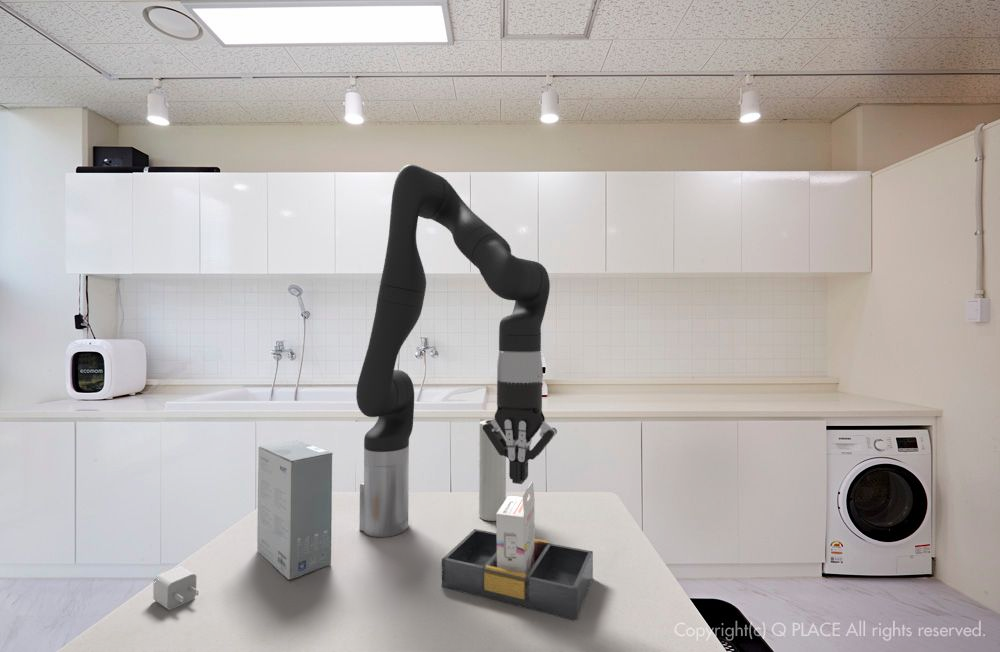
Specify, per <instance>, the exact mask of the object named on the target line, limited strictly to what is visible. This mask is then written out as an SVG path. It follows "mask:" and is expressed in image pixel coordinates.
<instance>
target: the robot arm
mask: <svg viewBox="0 0 1000 652" xmlns="http://www.w3.org/2000/svg"><path fill="white" fill-rule="evenodd" d="M394 181H395V182H394V185H393V190H392V195H391V202H390V203H391V204H390V217H389V218H390V219H389V226H388V227H389V230H388V238H387V246H386V250H385V252H386V253H385V258H384V264H383V268H382V274H381V280H380V282H379V289H378V295H377V299H376V300H377V301H376V306H375V307H376V308H375V312H374V319H373V323H372V327H371V332H370V338H369V342H368V346H367V350H366V353H365V357H364V361H363V364H362V367H361V369H360V370H361V371H360V373H359V377H358V382H357V385H356V392H355V393H356V394H355V395H356V404H357V406H358V409H359V411H360V412H361V413H362V414H363V415H364V416H365V417H368V418H377V420H376V423H375V424H374V426H372V427H371V429H369V430H368V431H367V432H366V433H365V435H364V437H363V438H364V439H363V482H361V483H360V484H359V530H361V531H363V532H364V534H366V535H367V536H370V537H373V538H386V537H393V536H397V535H399V534H402V533H404V532H405V531H407V530H408V528H409V501H410V500H409V491H410V490H409V489H410V488H409V484H410V482H409V477H410V476H409V475H410V474H409V473H410V472H409V471H410V470H409V469H410V465H409V464H410V463H409V461H410V460H409V459H410V457H409V456H410V437H411V436H412V435H411V434H412V432H413V428H414V417H415V415H414V411H415V387H414V384H413V381H412V378H411V377H410V375H409V374H408V373H406V372H405V371H403V370H401V369H395V366H396V363H397V359H398V355H399V353H400V351H401V348H402V346H403V345H404V343H405V342H406V340H407V339H408V337H409V335H410V333H411V332H412V331H413V329H414V327H416V324H417V322H418V320H419V318H420V317H421V314H422V310H423V305H424V300H425V296H426V290H427V289H426V288H427V278H426V273H425V269H424V265H423V262H422V260H421V256H420V252H419V248H418V243H417V230H418V220H419V217H420V218H423V219H426V220H431V221H434V222H436V223H438V224H440V225H442V227H444V228H445V229H447V230H448V231H449V232H450V233H451V235H452V238H453V242H454V244H455V246H456V248H457V249H458V250H459V251H460V253H462V255H463V256H464V257H465V258H466V259H467V260H468V261H469V262H470V263H472V265H473V266H475V267H476V268H477V269H478V270H479V272H480V275H481V277H482V278H483V280H484V282H485V284H487V286H488V288H489V289H490V290H491V291H492V292H493V294H495V295H497V296H498V297H499V298H501V299H503V300H507V301H515V303H514V306H513V311H512V313H511V314H510V315H507V316H504V317H502V318H501V320H500V322H499V326H498V357H497V364H496V366H497V367H496V368H497V369H496V370H497V371H496V375H497V377H496V380H497V381H496V407H497V409H496V412H495V413H494V418H493V419H491V420H492V421H491V422H489V423H487V424H485V425H483V430H484V432H485V433H486V435H487V436H488V438H489V439H490V441H491V442H492V444H493V445H494V447H495V449H496V450H497V452H498V453H499V455H501V456H505V457H506V459H508V463H509V467H508V468H509V470H508V471H509V473H508V476H509V479H510V480H512V484H516V485H517V484H518V485H522V484H524V483H525V481H526V480H527V479H528V477H529V461H530V460H535V458H537V457H539V456H540V454H541V453H542V452H543V451H544V450H545V448H546V447H547V445H548V444H549V443H550V442H551V441H552V440H553V438H554V437H555V435H557V432H558V429H556V427H551V426H550V425H549V424H548V423H547V422H546V421H545V420H546V418H545V414H544V413H543V377H544V372H543V359H542V346H541V345H542V329H541V328H542V323H543V320H544V316H545V314H546V309H547V304H548V300H549V295H550V291H551V290H550V288H551V283H550V282H551V281H550V277H549V273H548V271H547V269H546V267H545V266H544V265H543V264H542V263H540V262H537V261H536V260H535V261H534V260H530V259H525V258H519V257H517V256H515V255H514V254H512V249H511V246H510V244H509V242H508V241H507V240H506V239H505V238H504V237H503V236H501V234H499V233H498V232H497V231H495V229H494V228H492V227H491V226H490V225H489V224H488V223H486V222H485V221H484V220H483V219H481V218H480V216H478V215H477V214H476V213H475V212H473V211H472V210H471V208H470V207H469V206H468V205H467V204H466V203H465V201H464V200H463V199H462V198H461V196H460V195H459V193H458V192H457V191H456V190H455V188H454V187H453V186H452V185H451V183H450V182H449V181H448V180H447V179H446V178H445V177H443V176H441V175H439V174H437V173H435V172H433V171H430V170H428V169H426V168H424V167H421V166H418V165H416V164H411V163H410V164H407V165H405V166H403V167H402V168H401V169H400V171H399V172H398V173H397V176H396V178H395V180H394ZM499 427H500V428H499ZM500 429H501V430H502V432H503V433H504V435H505V436H506V441H505V439H504V438H503V436H502V435H501V433H500V432H499V430H500ZM539 430H540V431H539ZM538 431H539V437H540V439H539V440H538V442H536V444H535V445H534V446H533V448H531V446H532V439H533V438H534V437H535V435H536V434H537V433H538Z"/></svg>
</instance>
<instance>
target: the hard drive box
mask: <svg viewBox="0 0 1000 652" xmlns="http://www.w3.org/2000/svg"><path fill="white" fill-rule="evenodd" d="M257 465H258V469H257V471H258V473H257V478H258V479H257V533H256V535H257V539H256V540H257V541H256V542H257V546H256V547H257V552H258V553H259V554H260V555H261V556H263V558H264V559H265V560H267V562H269V563H270V564H271V565H272V566H273V567H274V568H276V570H277V571H278V572H279V573H280V574H281V575H282V576H284V577H285V578H286V579H287V580H288V581H289V580H294V579H296V578H298V577H301V576H304V575H306V574H308V573H311V572H314V571H317V570H319V569H322V568H324V567H326V566H330V565H332V525H333V524H332V520H333V519H332V516H333V515H332V513H333V512H332V511H333V510H332V507H333V506H332V505H333V503H332V502H333V501H332V499H333V498H332V497H333V496H332V495H333V493H332V491H333V452H331V451H329V450H326V449H323V448H320V447H317V446H315V445H311V444H309V443H307V442H306V443H305V442H302V441H299V440H296V439H295V440H290V441H284V442H277V443H273V444H267V445H260V446H259V447H258V463H257Z"/></svg>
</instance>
